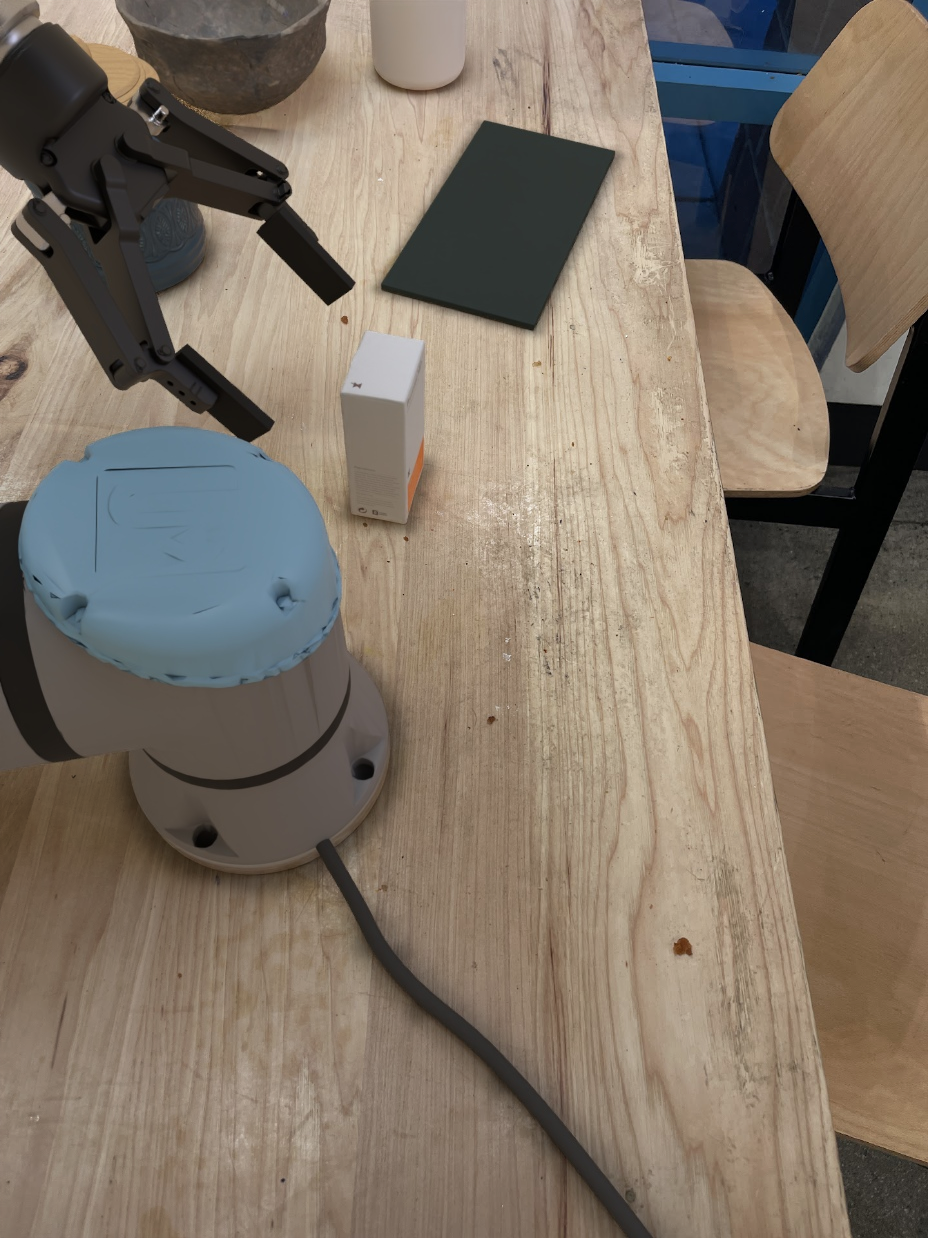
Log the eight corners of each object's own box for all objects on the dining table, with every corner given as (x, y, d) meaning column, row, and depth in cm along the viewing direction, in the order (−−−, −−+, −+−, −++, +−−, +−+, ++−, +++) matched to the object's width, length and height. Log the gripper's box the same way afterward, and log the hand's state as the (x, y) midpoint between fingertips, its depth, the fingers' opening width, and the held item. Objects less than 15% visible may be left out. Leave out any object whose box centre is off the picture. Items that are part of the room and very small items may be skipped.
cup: (463, 97, 94) (467, -9, 85) (369, 93, 94) (363, -14, 85) (464, 49, 99) (468, -56, 91) (375, 45, 99) (371, -61, 90)
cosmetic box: (407, 526, 64) (404, 404, 53) (350, 515, 64) (336, 392, 54) (426, 464, 67) (427, 338, 57) (371, 454, 67) (362, 327, 57)
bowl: (184, 29, 99) (162, -78, 90) (362, 56, 97) (357, -50, 89) (108, 129, 88) (74, 18, 80) (307, 161, 87) (294, 52, 78)
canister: (36, 291, 75) (-61, 74, 60) (88, 201, 82) (13, -15, 67) (186, 308, 75) (126, 94, 60) (226, 216, 82) (181, 3, 67)
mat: (533, 330, 75) (534, 324, 75) (380, 289, 77) (380, 283, 77) (614, 156, 89) (615, 150, 89) (483, 125, 91) (484, 119, 91)
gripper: (93, 8, 55) (338, 269, 66) (-171, 245, 42) (187, 519, 53) (148, -79, 50) (404, 219, 61) (-134, 161, 37) (255, 484, 48)
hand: (304, 360), depth 57 cm, fingers open, 13 cm apart
